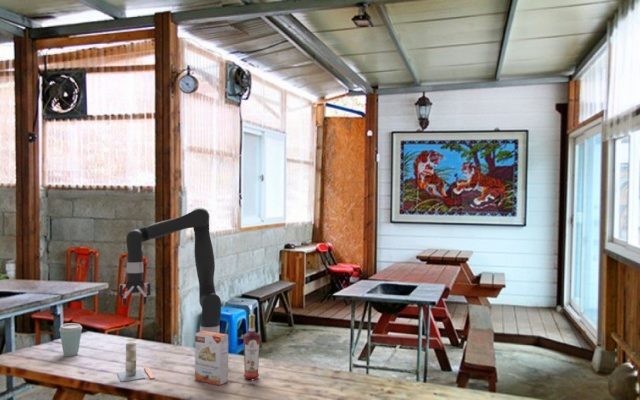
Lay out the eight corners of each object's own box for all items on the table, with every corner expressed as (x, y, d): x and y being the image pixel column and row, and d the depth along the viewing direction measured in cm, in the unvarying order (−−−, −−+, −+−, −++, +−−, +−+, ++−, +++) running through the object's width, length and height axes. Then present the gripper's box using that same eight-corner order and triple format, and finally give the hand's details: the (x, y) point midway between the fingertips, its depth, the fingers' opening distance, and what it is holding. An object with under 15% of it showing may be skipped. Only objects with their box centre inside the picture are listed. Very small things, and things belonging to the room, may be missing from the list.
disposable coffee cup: (86, 351, 273) (86, 322, 273) (74, 358, 262) (74, 327, 263) (66, 351, 274) (67, 322, 274) (54, 357, 264) (54, 326, 264)
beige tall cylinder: (135, 372, 239) (135, 341, 239) (136, 375, 235) (137, 344, 235) (124, 374, 237) (125, 342, 237) (126, 377, 233) (126, 345, 233)
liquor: (244, 381, 231) (244, 317, 231) (241, 376, 238) (242, 313, 238) (260, 380, 233) (261, 316, 233) (258, 375, 240) (259, 313, 240)
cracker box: (193, 380, 232) (194, 332, 232) (203, 376, 237) (203, 329, 237) (219, 386, 225) (220, 336, 225) (228, 382, 230) (229, 333, 230)
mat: (140, 370, 244) (140, 369, 244) (144, 378, 233) (144, 377, 233) (117, 373, 239) (117, 372, 239) (120, 382, 229) (120, 380, 229)
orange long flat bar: (148, 368, 248) (148, 367, 248) (155, 378, 233) (155, 377, 233) (144, 369, 247) (144, 367, 247) (150, 379, 232) (150, 378, 232)
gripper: (120, 273, 248) (119, 307, 248) (151, 271, 254) (151, 305, 254) (118, 271, 254) (117, 305, 254) (148, 269, 261) (148, 302, 261)
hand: (134, 305), depth 254 cm, fingers open, 8 cm apart
